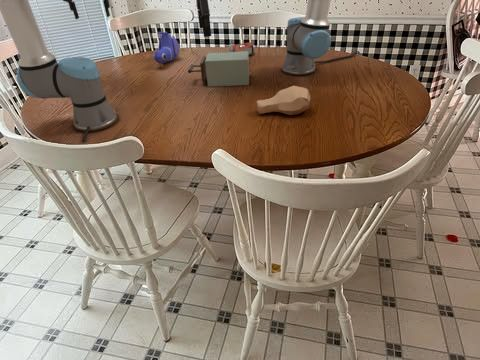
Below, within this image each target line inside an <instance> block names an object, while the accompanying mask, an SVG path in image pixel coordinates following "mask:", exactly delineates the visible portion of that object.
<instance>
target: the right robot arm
mask: <svg viewBox="0 0 480 360" xmlns="http://www.w3.org/2000/svg"><path fill="white" fill-rule="evenodd" d="M195 2H196V3H195V4H196V5H195V7H196V9H197V17H198V18H197V19H198V25H199V29H202V31H203V32H202V33H203V37H204V38H209V37H212V28H211V18H210V16H211V12H210V7H209V1H208V0H196V1H195ZM330 5H331V0H307V5H306V11H305V16H298V17H291V18H289V19H288V20H287V26H286V54H285V57H284V61H283V64H282V70H281V71H282V72H283V73H284V74H285V75H290V76H307V75H311V74H313V73H315V72H316V64H324V63H330V62H333V61H336V60H342V59H348V58H351V57H354V56H355V55H356V54H359V55H360V54H361V52H360V51H359V50H356V51H354V52H353V53H352V54H349V55H345V56H340V57H336V58H331V59H328V60H316V59H320V58H322V57H323V56H324V55H326V54H327V53H328V51H329V50H330V49H331V44H332V37H331V35H330V33H329V32H330V31H329V30H330V26H331V22H330V21H329V19H328V17H329V11H330Z"/></svg>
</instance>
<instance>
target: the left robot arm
mask: <svg viewBox="0 0 480 360" xmlns="http://www.w3.org/2000/svg"><path fill="white" fill-rule="evenodd" d="M62 1H63V2H65V3H68V6H69V9H70V11H71V12H73V15H74V19H75V20H78V19H80V16H79V12H78V9H77V6H76V3H75V1H73V0H62ZM102 2H103V7H104V10H105V11H104V12H105V15H106V17H107V18H109V17H111V14H110V8H111V4H110V1H109V0H102ZM0 14H1V16H2V18H3V20H4V23H5V25H6V27H7V30H8V32H9V34H10V37H11V39H12V41H13V44H14V46H15V48H16V50H17V52H18V54H19V57H20V58H19V60H18V62H17V64H18V67H17V68H16V73H15V74H16V75H17V76H16V81H17V84H18V86H19V88H20V89H21V91H22V92H23V93H25V94H26V95H27V96H28V97H31V98H35V99H42V100H43V99H45V100H47V99H63V98H65V99H67V98H69V99H70V101H71V104H72V108H73V114H72V117H73V118H72V119H73V125H74V128H75V129H76V131H78V132H84V134H83V138H82V139H81V141H82V142H85V141H86V139H87V136H88V135H89V134H88V133H92V132H99V131H102V130H105V129H107V128H110V127H111V126H113V125H115V124H116V122H117V121H118V116H117V112H116V110H115V109H114V107H112V105H111V103H110V102H109V101H108V99H107V96H106V92H105V89H104V87H103V86H104V85H103V83H102V79H101V73H100V71H99V69H98V66H97V64H96V62H95V61H94V60H93V59H91V58H88V57H84V56H72V57H71V56H70V57H69V56H68V57H65V58H62V59H60V60H59V61H57V58H56V56H55V54H53V53H51V52H50V51H49V50H48V48H47V45H46V42H45V40H44V37H43V35H42V32H41V30H40V27H39V26H38V22H37V20H36V17H35V14H34V12H33V9H32V6H31V4H30V2H29V0H0Z"/></svg>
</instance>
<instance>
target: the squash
mask: <svg viewBox="0 0 480 360" xmlns="http://www.w3.org/2000/svg"><path fill="white" fill-rule="evenodd" d="M311 98H312V97H311V95H310V90H309V89H307V88H306V87H302V86H298V85H292V86H289V87H287V88H283V89H280V90H279V91H277V92H276V94H275V95H274V96H272V97H271V98H265V99H257V100H256V102H255V103H256V107H257V109H256V110H257V113H258V114H259V115H263V114H266V113H273V112H275V113H282V114H284V115H287V116H295V115H300V114H301V113H303V112H305V111H306V110H308V109H309V107H310V102H311Z"/></svg>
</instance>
